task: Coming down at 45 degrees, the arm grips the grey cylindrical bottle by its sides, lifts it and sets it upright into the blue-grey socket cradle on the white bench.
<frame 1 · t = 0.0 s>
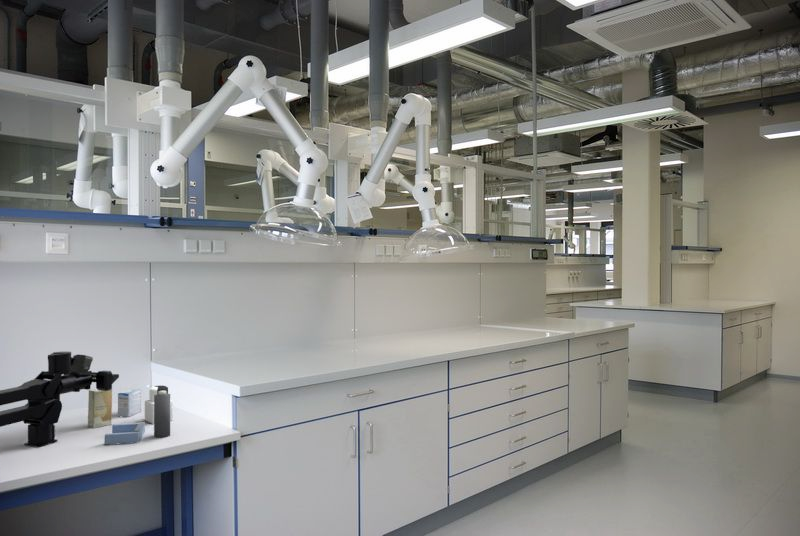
hand: (108, 374, 204), 17 cm above the lab bench, tool horizontal, fingers open, 9 cm apart
medicine bottle: (158, 421, 207), on the lab bench
medicine box: (129, 415, 216), on the lab bench
grey cylindrical bottle: (162, 435, 189), on the lab bench
skincare box: (100, 425, 201), on the lab bench
socket cradle: (122, 438, 186), on the lab bench
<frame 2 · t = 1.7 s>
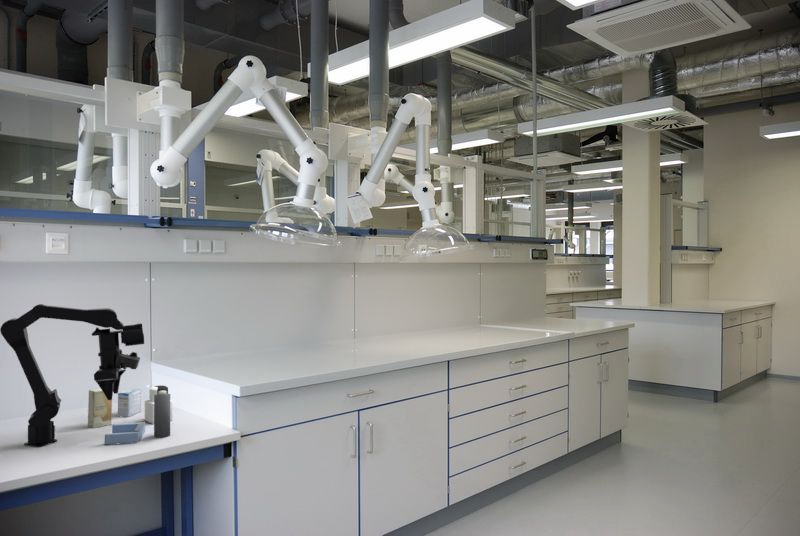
hand: (113, 396, 189), 12 cm above the lab bench, tool pointing down, fingers open, 9 cm apart
nothing on the lab bench moved.
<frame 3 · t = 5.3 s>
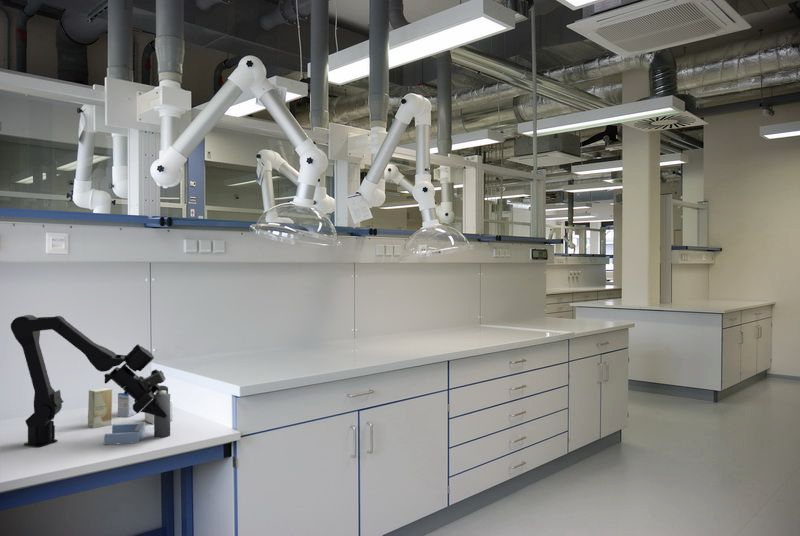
hand: (166, 414, 189), 7 cm above the lab bench, tool tilted 45°, fingers closed on grey cylindrical bottle, 5 cm apart
grey cylindrical bottle: (162, 435, 189), on the lab bench, touching gripper
everything else where it was.
when the fingers open (8 cm above the lab bench, at t = 8.8 s): grey cylindrical bottle drops 1 cm, resting on socket cradle.
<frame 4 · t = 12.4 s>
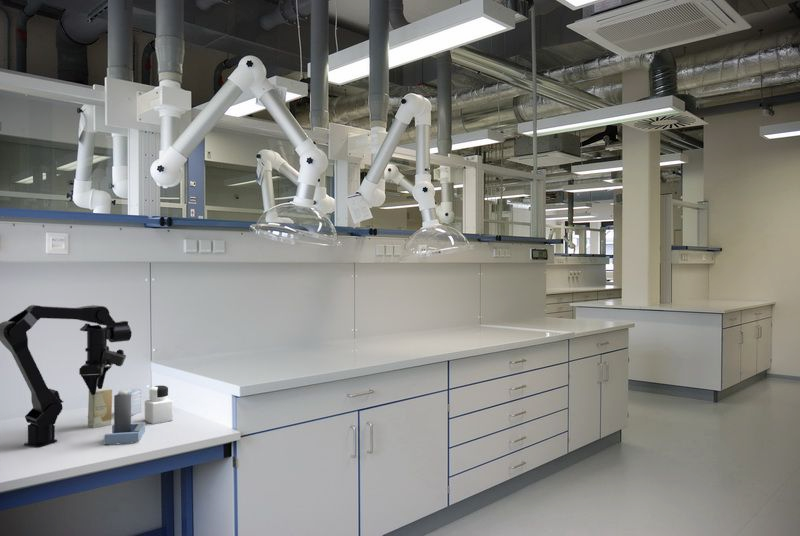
hand: (96, 391, 194), 13 cm above the lab bench, tool pointing down, fingers open, 9 cm apart
grey cylindrical bottle: (122, 436, 186), resting on socket cradle
everything else where it was.
at the end: grey cylindrical bottle 0.1 cm from the socket cradle (horizontally); grey cylindrical bottle tilted 0°; the gripper is holding nothing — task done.
